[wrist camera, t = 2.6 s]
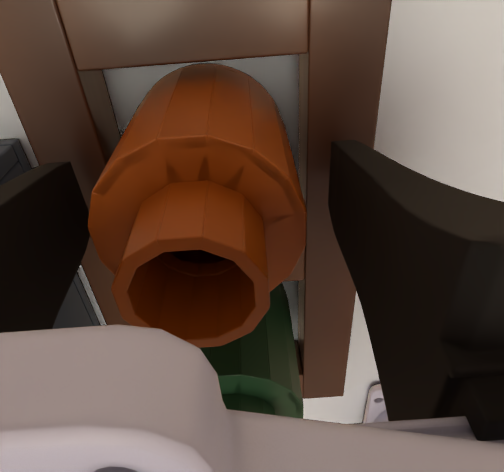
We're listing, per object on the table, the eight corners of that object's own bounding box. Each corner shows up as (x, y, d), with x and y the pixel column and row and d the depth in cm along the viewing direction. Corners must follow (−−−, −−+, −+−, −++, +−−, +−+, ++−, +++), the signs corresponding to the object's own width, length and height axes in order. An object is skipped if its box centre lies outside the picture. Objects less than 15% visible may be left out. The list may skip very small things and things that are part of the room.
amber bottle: (285, 197, 15) (317, 367, 9) (153, 207, 15) (102, 382, 9) (282, 57, 12) (327, 175, 6) (119, 69, 12) (10, 199, 6)
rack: (374, -50, 11) (398, -48, 9) (335, 361, 22) (343, 396, 20) (2, -20, 11) (-38, -11, 9) (148, 374, 22) (142, 409, 20)
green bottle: (288, 334, 20) (310, 505, 14) (187, 341, 20) (167, 514, 14) (286, 258, 17) (313, 433, 11) (168, 266, 17) (133, 445, 11)
